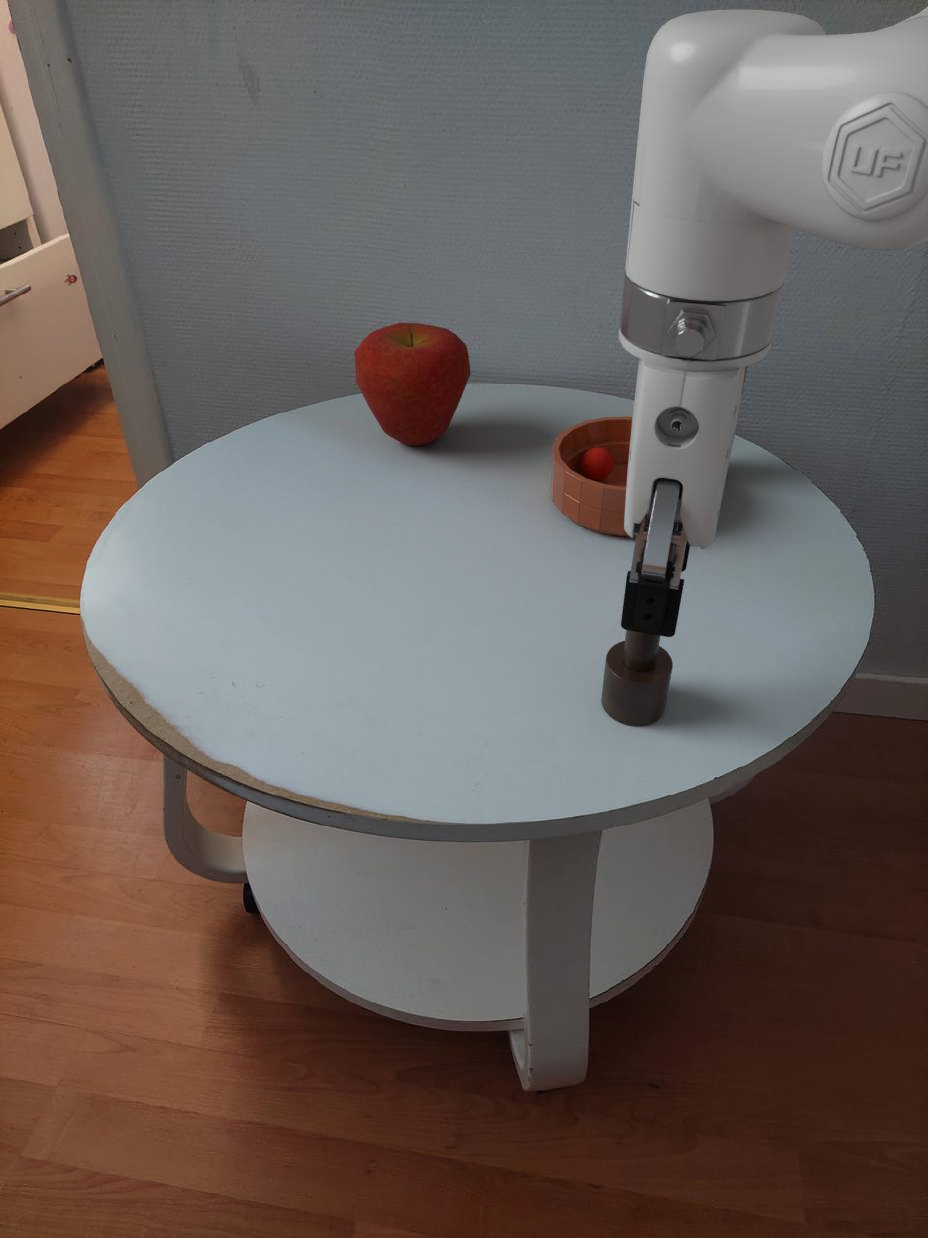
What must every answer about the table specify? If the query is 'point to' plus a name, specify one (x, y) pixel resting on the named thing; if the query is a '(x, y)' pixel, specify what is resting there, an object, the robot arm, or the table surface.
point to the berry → (597, 463)
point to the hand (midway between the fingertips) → (654, 595)
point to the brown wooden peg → (637, 675)
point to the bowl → (585, 497)
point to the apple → (412, 379)
